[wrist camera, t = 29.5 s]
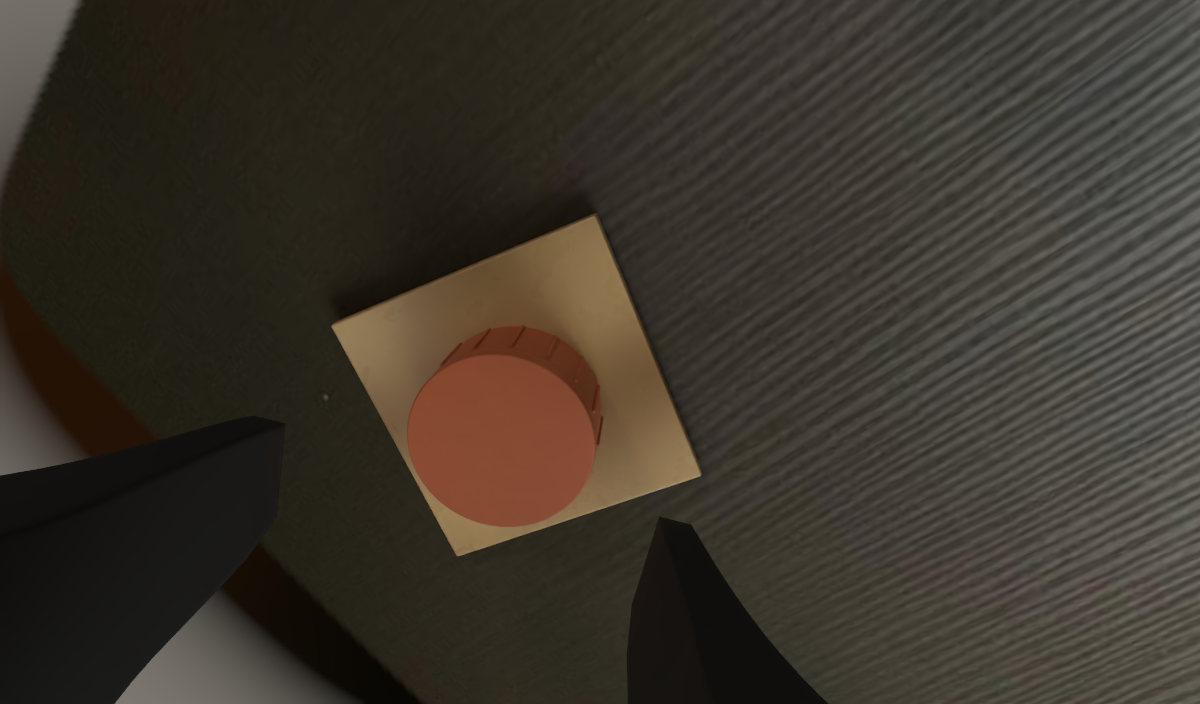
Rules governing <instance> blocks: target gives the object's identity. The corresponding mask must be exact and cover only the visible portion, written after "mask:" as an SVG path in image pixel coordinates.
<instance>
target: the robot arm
mask: <svg viewBox="0 0 1200 704" xmlns="http://www.w3.org/2000/svg"><path fill="white" fill-rule="evenodd" d="M284 434H285V423H281V422H277V421H273V420H268V419H264V418H260V417H256V416H250V417H244V418H240V419H235V420H231V421H227V422H223V423H219V424H216V425H212V426H208V427H205V428H201V429H198V430H194V431H191V432H187V433H183V434H180V435H176V436H173V437H169V438H166V439H162V440H158V441H155V442H151V443H148V444H144V445H140V446H136V447H132V448H128V449H124V450H120V451H116V452H112V453H108V454H104V455H100V456H96V457H92V458H88V459H84V460H79V461H75V462H70V463H66V464H61V465H57V466H51V467H46V468H41V469H36V470H30V471H24V472H19V473H13V474H8V475H1V476H0V704H115V702H116V701H117V700H118V699H119V697H120V696H121V695H122V693H123V692H124V691H125V690H126V688H127V687H128V686H129V685H130V683H131V682H132V681H133V680H134V678H135V677H136V676H137V675H138V674H139V673H140V672H141V671H142V669H143V668H144V667H145V666H146V665H147V663H149V661H150V660H151V659H152V658H153V657H154V656H155V655H156V654H157V653H158V651H160V650H161V649H162V648H163V646H164V645H165V644H166V643H167V642H168V641H169V640H170V639H171V638H172V637H173V636H174V635H175V634H176V633H177V632H178V631H179V630H180V628H182V627H183V625H185V623H186V622H187V621H188V620H189V619H190V618H191V617H192V616H193V615H194V614H195V613H196V612H197V611H198V610H199V609H200V608H201V606H203V605H204V604H205V602H206V601H207V600H208V599H209V598H210V597H211V596H212V595H213V594H214V593H215V592H216V591H217V590H218V589H219V588H220V587H221V585H223V584H224V583H225V581H226V580H227V579H228V578H229V577H230V576H231V575H232V574H233V573H234V572H235V571H236V570H237V569H238V567H239V566H240V565H241V564H242V563H243V562H244V561H245V560H246V558H247V557H248V556H249V554H250V553H251V552H252V550H253V549H254V548H255V546H256V545H257V544H258V542H259V541H260V540H261V538H262V537H263V535H264V534H265V532H266V531H267V530H268V528H269V527H270V525H271V524H272V522H273V521H274V519H275V518H276V517H277V507H278V496H279V486H280V475H281V465H282V455H283V444H284ZM627 680H628V704H828V703H827V702H826V701H825V700H824V699H823V698H822V697H821V696H820V695H819V694H818V693H817V692H816V691H815V690H814V689H813V688H812V687H811V686H810V685H809V684H808V683H807V682H806V681H805V680H804V679H803V678H802V677H801V676H800V675H799V674H798V673H797V671H796V670H795V669H794V668H793V667H792V666H791V665H790V664H789V663H788V661H787V660H786V659H785V658H784V657H783V656H782V655H781V654H780V653H779V652H778V650H777V649H776V648H775V647H774V646H773V644H772V643H771V642H770V641H769V640H768V638H767V637H766V636H765V635H764V633H763V632H762V631H761V629H760V628H759V627H758V625H757V624H756V623H755V621H754V620H753V619H752V618H751V616H750V615H749V614H748V612H747V611H746V610H745V608H744V607H743V605H742V604H741V602H740V601H739V600H738V598H737V597H736V595H735V594H734V592H733V591H732V589H731V588H730V586H729V585H728V583H727V582H726V580H725V579H724V577H723V576H722V574H721V573H720V571H719V570H718V568H717V566H716V565H715V563H714V561H713V560H712V558H711V557H710V555H709V553H708V552H707V550H706V548H705V547H704V545H703V543H702V542H701V540H700V538H699V537H698V535H697V533H696V532H695V530H694V529H693V527H692V525H690V524H686V523H682V522H678V521H674V520H670V519H666V518H662V517H659V520H658V523H657V526H656V529H655V532H654V536H653V539H652V542H651V545H650V548H649V552H648V555H647V558H646V561H645V564H644V568H643V571H642V574H641V577H640V580H639V584H638V587H637V590H636V593H635V596H634V600H633V603H632V609H631V619H630V628H629V638H628V649H627Z"/></svg>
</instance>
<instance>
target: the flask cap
mask: <svg viewBox="0 0 1200 704" xmlns="http://www.w3.org/2000/svg"><path fill="white" fill-rule="evenodd" d="M584 359H585V358H584V357H583V356H582V357H581V356H580V355H579V354H578V353H577V352H576V351H575V350H574V349H573V348H572V347H571V346H569V345H568V344H566V343H565V342H563V341H562V340H561V339H559V338H558V336H556V335H555V336H553V335H551V334H549V333H546V332H543V331H541V330H537V329H533V328H528V327H525V325H521V327H519V326H508V327H500V328H494V329H491V328H487V330H486V331H484V332H482V333H479V334H477V335H475V336H473V337H472V338H470V339H468V340H467V341H465V342H464V343H463V344H462V343H461V342H460V343H459V344H458V345H457V346H456V347H455V348H454V350H453V351H452V352H451V353H450V354H449V355H448V356H447V357H446V358H445V359H444V360H443V362H442V363H441V364H440V365H439V366H440V368H439V369H438V370H437V371H436V372H435V373H434V374H433V376H432V377H431V378H430V379H429V380H428V381H427V382H426V383H425V384H424V386H423V387H422V388H421V389H420V390H419V393H418V394H417V396H416V398H415V400H414V402H413V405H412V407H411V411H410V414H409V418H408V425H407V442H408V449H409V453H410V457H411V461H412V463H413V465H414V468H415V470H416V472H417V474H418V476H419V477H420V479H421V481H422V482H423V484H424V485H425V486H426V488H427V489H428V490H429V492H430V493H431V494H432V495H433V496H434V497H435V498H436V499H437V500H438V501H440V502H441V503H442V504H443V505H445V506H446V507H447V508H449V509H450V510H452V511H453V512H455V513H457V514H459V515H461V516H463V517H465V518H467V519H469V520H472V521H475V522H478V523H481V524H485V525H490V526H498V527H519V526H526V525H531V524H535V523H538V522H541V521H544V520H546V519H548V518H550V517H552V516H554V515H556V514H558V513H559V512H561V511H562V510H563V509H565V508H566V507H567V506H569V505H570V504H571V503H572V502H573V501H574V500H575V499H576V498H577V496H578V495H579V494H580V493H581V491H582V490H583V488H584V487H585V485H586V483H587V481H588V479H589V477H590V474H591V472H592V468H593V464H594V460H595V453H596V448H597V447H599V444H600V438H601V431H602V425H603V418H604V416H601V414H602V403H601V396H600V388H601V387H600V385H597V381H596V379H595V377H594V375H593V373H592V371H591V369H590V368H589V366H588V365H587V363H586V362H585V361H584Z"/></svg>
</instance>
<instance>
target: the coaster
mask: <svg viewBox="0 0 1200 704" xmlns="http://www.w3.org/2000/svg"><path fill="white" fill-rule="evenodd" d="M521 325H525V327H528V328H533V329H537V330H541V331H543V332H546V333H549V334H551V335H553V336H555V335H556V336H558V338H559V339H561V340H562V341H563V342H565V343H566V344H568V345H569V346H571V347H572V348H573V349H574V350H575V351H576V352H577V353H578V354H579V355H580V356H581V357H582V356H583V357H584V358H585V359H584V361H585V362H586V363H587V365H588V366H589V368H590V369H591V371H592V373H593V375H594V377H595V379H596V381H597V385H600V387H601V388H600V396H601V403H602V414H601V416H604V418H603V425H602V431H601V438H600V444H599V447H597V448H596V453H595V460H594V464H593V468H592V472H591V474H590V477H589V479H588V481H587V483H586V485H585V487H584V488H583V490H582V491H581V493H580V494H579V495H578V496H577V498H576V499H575V500H574V501H573V502H572V503H571V504H570V505H569V506H567V507H566V508H565V509H563V510H562V511H561V512H559V513H558V514H556V515H554V516H552V517H550V518H548V519H546V520H544V521H541V522H538V523H535V524H531V525H526V526H519V527H498V526H490V525H485V524H481V523H478V522H475V521H472V520H469V519H467V518H465V517H463V516H461V515H459V514H457V513H455V512H453V511H452V510H450V509H449V508H447V507H446V506H445V505H443V504H442V503H441V502H440V501H438V500H437V499H436V498H435V497H434V496H433V495H432V494H431V493H430V492H429V490H428V489H427V488H426V486H425V485H424V484H423V482H422V481H421V479H420V477H419V476H418V474H417V472H416V470H415V468H414V465H413V463H412V461H411V457H410V453H409V449H408V442H407V425H408V418H409V414H410V411H411V407H412V405H413V402H414V400H415V398H416V396H417V394H418V393H419V390H420V389H421V388H422V387H423V386H424V384H425V383H426V382H427V381H428V380H429V379H430V378H431V377H432V376H433V374H434V373H435V372H436V371H437V370H438V369H439V368H440V366H439V365H440V364H441V363H442V362H443V360H444V359H445V358H446V357H447V356H448V355H449V354H450V353H451V352H452V351H453V350H454V348H455V347H456V346H457V345H458V344H459V343H460V342H461V343H462V344H463V343H464V342H465V341H467V340H468V339H470V338H472V337H473V336H475V335H477V334H479V333H482V332H484V331H486V330H487V328H491V329H494V328H500V327H508V326H519V327H521ZM332 328H333V330H334V332H335V334H336V336H337V338H338V339H339V341H340V343H341V345H342V347H343V349H344V350H345V352H346V354H347V356H348V358H349V360H350V361H351V363H352V365H353V367H354V369H355V370H356V372H357V374H358V376H359V378H360V380H361V381H362V383H363V385H364V387H365V389H366V391H367V392H368V394H369V396H370V398H371V400H372V402H373V403H374V405H375V407H376V409H377V411H378V413H379V414H380V416H381V418H382V420H383V422H384V424H385V425H386V427H387V429H388V431H389V433H390V435H391V436H392V438H393V440H394V442H395V444H396V446H397V447H398V449H399V451H400V453H401V455H402V457H403V458H404V460H405V462H406V464H407V466H408V468H409V469H410V471H411V473H412V475H413V477H414V479H415V480H416V482H417V484H418V486H419V488H420V490H421V491H422V493H423V495H424V497H425V499H426V501H427V502H428V504H429V506H430V508H431V510H432V512H433V513H434V515H435V517H436V519H437V521H438V523H439V524H440V526H441V528H442V530H443V532H444V533H445V535H446V537H447V539H448V541H449V543H450V544H451V546H452V548H453V550H454V552H455V554H456V555H457V556H461V555H464V554H467V553H470V552H473V551H476V550H479V549H482V548H485V547H488V546H491V545H494V544H497V543H500V542H503V541H506V540H509V539H512V538H515V537H518V536H521V535H524V534H527V533H530V532H533V531H536V530H539V529H542V528H545V527H549V526H552V525H555V524H558V523H561V522H564V521H567V520H570V519H573V518H576V517H579V516H582V515H585V514H588V513H591V512H594V511H597V510H600V509H603V508H606V507H609V506H612V505H615V504H618V503H621V502H624V501H627V500H630V499H633V498H636V497H639V496H642V495H645V494H648V493H651V492H654V491H657V490H660V489H663V488H666V487H669V486H672V485H675V484H678V483H681V482H684V481H687V480H691V479H694V478H697V477H700V476H701V467H700V464H699V461H698V459H697V456H696V454H695V451H694V449H693V447H692V444H691V442H690V439H689V437H688V434H687V432H686V429H685V427H684V425H683V422H682V420H681V417H680V415H679V412H678V410H677V407H676V405H675V403H674V400H673V398H672V395H671V393H670V390H669V388H668V385H667V383H666V381H665V378H664V376H663V373H662V371H661V368H660V366H659V363H658V361H657V359H656V356H655V354H654V351H653V349H652V346H651V344H650V341H649V339H648V337H647V334H646V332H645V329H644V327H643V324H642V322H641V319H640V317H639V315H638V312H637V310H636V307H635V305H634V302H633V300H632V297H631V295H630V293H629V290H628V288H627V285H626V283H625V280H624V278H623V275H622V273H621V271H620V268H619V266H618V263H617V261H616V258H615V256H614V254H613V251H612V249H611V246H610V244H609V241H608V239H607V236H606V234H605V232H604V229H603V227H602V224H601V222H600V219H599V217H598V215H597V214H596V213H594V214H592V215H589V216H587V217H584V218H582V219H580V220H577V221H575V222H572V223H570V224H568V225H565V226H563V227H560V228H558V229H556V230H553V231H551V232H548V233H546V234H544V235H541V236H539V237H536V238H534V239H532V240H529V241H527V242H525V243H522V244H520V245H517V246H515V247H513V248H510V249H508V250H505V251H503V252H501V253H498V254H496V255H493V256H491V257H489V258H486V259H484V260H481V261H479V262H477V263H474V264H472V265H469V266H467V267H465V268H462V269H460V270H458V271H455V272H453V273H450V274H448V275H446V276H443V277H441V278H438V279H436V280H434V281H431V282H429V283H426V284H424V285H422V286H419V287H417V288H414V289H412V290H410V291H407V292H405V293H402V294H400V295H398V296H395V297H393V298H391V299H388V300H386V301H383V302H381V303H379V304H376V305H374V306H371V307H369V308H367V309H364V310H362V311H359V312H357V313H355V314H352V315H350V316H347V317H345V318H343V319H340V320H339V321H337V322H335V323H334V324H332Z"/></svg>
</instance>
